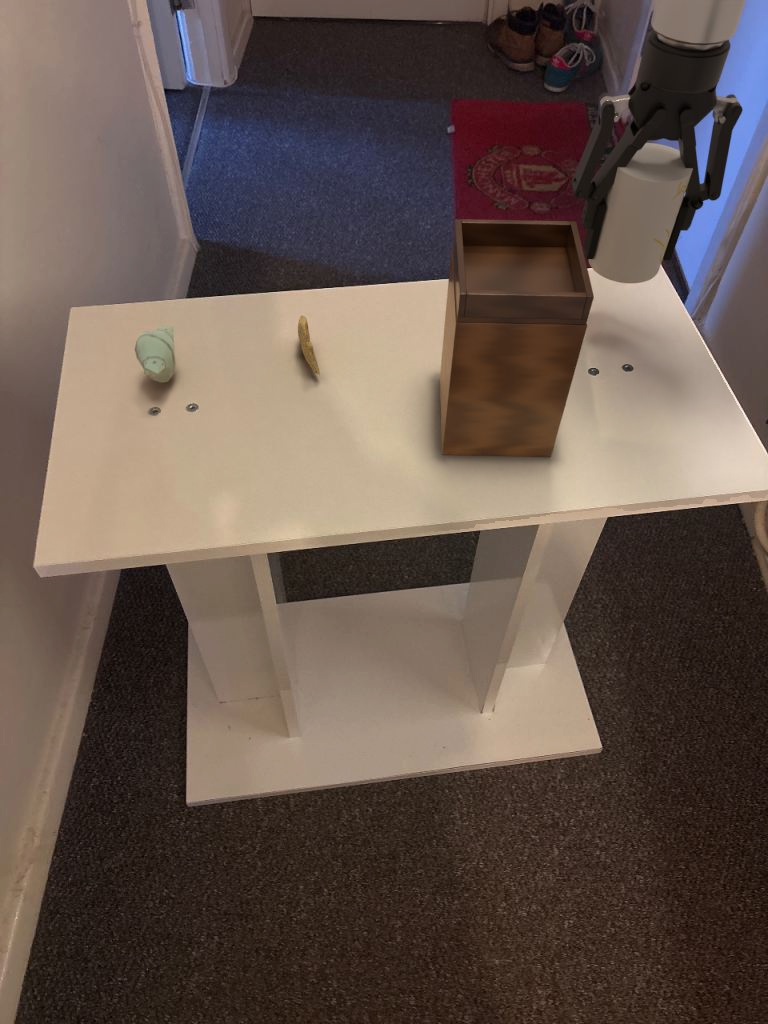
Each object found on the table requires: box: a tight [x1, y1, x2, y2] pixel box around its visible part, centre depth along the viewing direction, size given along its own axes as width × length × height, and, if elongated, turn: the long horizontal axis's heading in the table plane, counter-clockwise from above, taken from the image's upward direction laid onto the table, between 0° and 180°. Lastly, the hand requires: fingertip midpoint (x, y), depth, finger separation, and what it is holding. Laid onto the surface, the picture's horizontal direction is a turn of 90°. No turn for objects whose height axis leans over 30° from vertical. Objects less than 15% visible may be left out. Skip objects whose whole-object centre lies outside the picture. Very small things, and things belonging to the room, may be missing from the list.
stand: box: [439, 246, 588, 458], centre depth 79 cm, size 12×12×18 cm
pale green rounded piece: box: [134, 326, 176, 384], centre depth 87 cm, size 8×4×7 cm, turn 177°
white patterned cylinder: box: [588, 142, 693, 284], centre depth 83 cm, size 8×8×12 cm
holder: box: [452, 218, 595, 325], centre depth 71 cm, size 12×12×3 cm
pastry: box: [297, 315, 321, 376], centre depth 90 cm, size 9×2×5 cm, turn 17°
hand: (626, 252), depth 87 cm, fingers closed on white patterned cylinder, 8 cm apart
